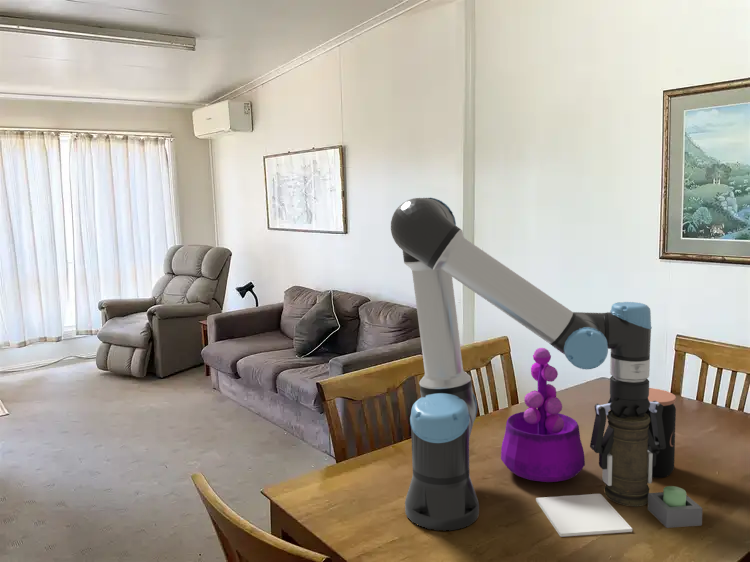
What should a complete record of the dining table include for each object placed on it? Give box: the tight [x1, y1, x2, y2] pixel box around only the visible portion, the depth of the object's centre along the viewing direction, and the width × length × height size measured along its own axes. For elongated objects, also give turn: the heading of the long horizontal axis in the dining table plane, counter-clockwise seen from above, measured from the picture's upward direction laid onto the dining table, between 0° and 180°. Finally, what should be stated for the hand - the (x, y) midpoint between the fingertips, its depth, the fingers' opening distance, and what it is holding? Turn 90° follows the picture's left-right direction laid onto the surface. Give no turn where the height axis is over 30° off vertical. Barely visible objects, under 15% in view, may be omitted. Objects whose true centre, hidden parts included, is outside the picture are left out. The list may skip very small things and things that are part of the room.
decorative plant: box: [500, 347, 586, 483], centre depth 137 cm, size 19×18×30 cm
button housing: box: [647, 491, 703, 529], centre depth 118 cm, size 7×7×4 cm
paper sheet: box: [535, 493, 633, 537], centre depth 120 cm, size 14×14×1 cm
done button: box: [662, 485, 687, 507], centre depth 117 cm, size 4×4×4 cm
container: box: [603, 410, 650, 507], centre depth 125 cm, size 9×9×18 cm
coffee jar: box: [645, 387, 677, 479], centre depth 138 cm, size 11×11×18 cm
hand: (626, 481), depth 126 cm, fingers closed on container, 8 cm apart
